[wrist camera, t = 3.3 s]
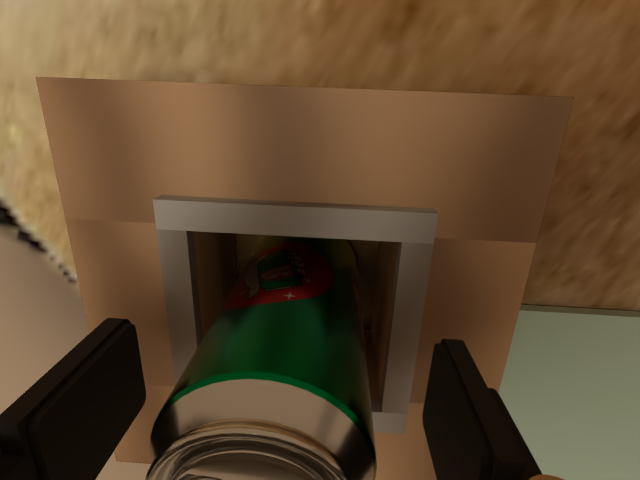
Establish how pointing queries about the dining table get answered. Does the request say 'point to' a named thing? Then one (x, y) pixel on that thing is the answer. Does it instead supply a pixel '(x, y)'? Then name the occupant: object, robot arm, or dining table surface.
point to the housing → (305, 218)
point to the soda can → (276, 376)
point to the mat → (576, 390)
